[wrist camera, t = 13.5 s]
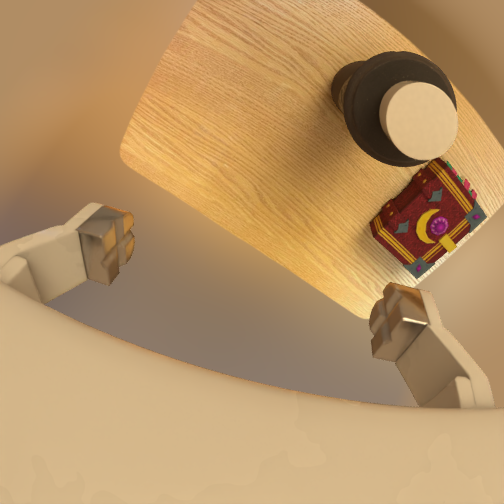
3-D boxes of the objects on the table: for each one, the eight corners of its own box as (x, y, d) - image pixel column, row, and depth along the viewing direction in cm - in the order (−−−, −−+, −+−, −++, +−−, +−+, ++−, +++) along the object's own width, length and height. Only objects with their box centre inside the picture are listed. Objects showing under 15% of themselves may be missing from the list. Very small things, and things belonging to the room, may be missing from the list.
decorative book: (366, 221, 43) (371, 239, 39) (440, 147, 34) (454, 158, 30) (411, 262, 45) (418, 281, 41) (480, 199, 36) (493, 214, 32)
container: (317, 75, 33) (320, 80, 17) (377, 48, 29) (434, 35, 13) (349, 132, 36) (376, 190, 20) (407, 107, 32) (478, 147, 16)
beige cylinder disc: (368, 84, 16) (378, 86, 14) (434, 77, 14) (451, 80, 12) (383, 152, 18) (393, 165, 16) (444, 143, 17) (461, 156, 14)
